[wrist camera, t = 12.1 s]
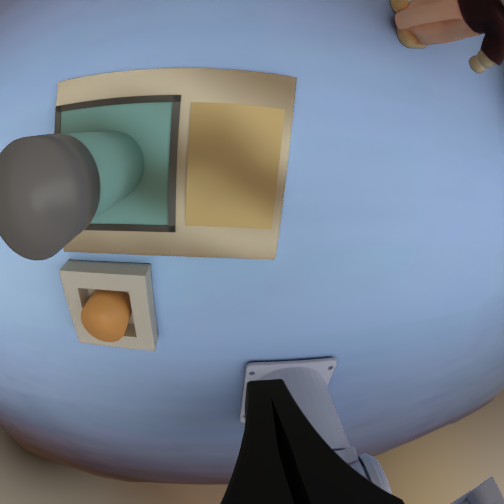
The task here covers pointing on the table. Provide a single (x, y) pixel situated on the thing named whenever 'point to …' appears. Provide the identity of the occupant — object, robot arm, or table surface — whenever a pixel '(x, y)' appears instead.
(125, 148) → the green grey cylinder
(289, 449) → the robot arm
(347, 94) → the table surface
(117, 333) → the button
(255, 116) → the picture board
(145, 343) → the button housing
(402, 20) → the grandmother figurine
